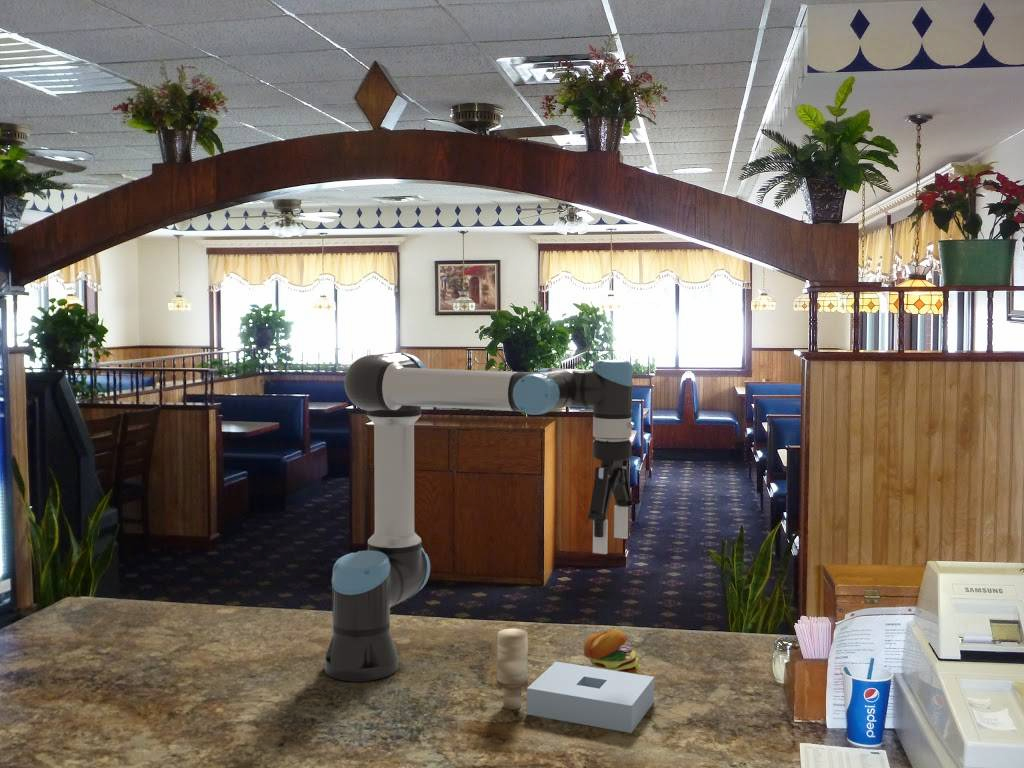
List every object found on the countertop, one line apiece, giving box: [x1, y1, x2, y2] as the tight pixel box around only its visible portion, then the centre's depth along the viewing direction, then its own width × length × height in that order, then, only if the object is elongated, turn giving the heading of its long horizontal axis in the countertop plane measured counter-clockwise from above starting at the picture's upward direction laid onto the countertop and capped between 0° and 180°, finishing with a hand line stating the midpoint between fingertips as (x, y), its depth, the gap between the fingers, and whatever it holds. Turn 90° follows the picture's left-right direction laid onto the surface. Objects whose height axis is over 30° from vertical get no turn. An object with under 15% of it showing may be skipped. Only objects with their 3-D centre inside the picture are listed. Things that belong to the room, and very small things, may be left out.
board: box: [526, 661, 655, 734], centre depth 189 cm, size 20×15×5 cm
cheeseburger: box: [583, 628, 641, 674], centre depth 207 cm, size 10×11×10 cm
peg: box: [496, 628, 529, 711], centre depth 189 cm, size 6×6×14 cm
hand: (610, 545), depth 199 cm, fingers open, 13 cm apart
